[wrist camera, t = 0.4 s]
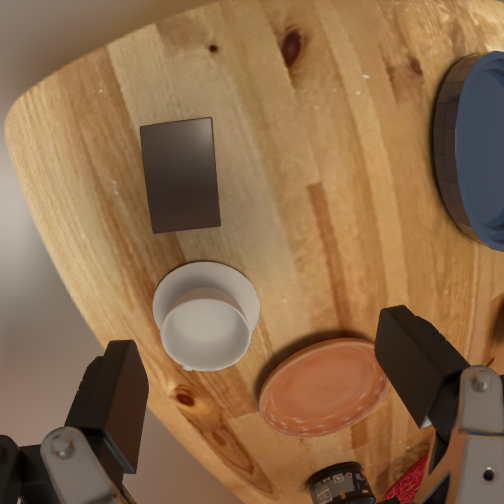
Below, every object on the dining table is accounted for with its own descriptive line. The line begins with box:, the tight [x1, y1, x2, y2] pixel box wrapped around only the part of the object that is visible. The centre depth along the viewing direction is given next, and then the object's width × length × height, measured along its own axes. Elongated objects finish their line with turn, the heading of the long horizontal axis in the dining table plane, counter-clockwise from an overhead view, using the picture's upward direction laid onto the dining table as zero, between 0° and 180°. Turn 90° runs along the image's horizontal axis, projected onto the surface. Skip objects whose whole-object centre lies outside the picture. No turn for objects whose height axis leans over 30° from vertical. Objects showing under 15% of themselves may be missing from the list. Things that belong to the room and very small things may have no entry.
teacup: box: [153, 262, 260, 371], centre depth 27 cm, size 10×10×5 cm
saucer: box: [259, 338, 391, 438], centre depth 33 cm, size 16×16×3 cm
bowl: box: [383, 454, 428, 504], centre depth 48 cm, size 30×30×5 cm
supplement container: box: [308, 463, 376, 504], centre depth 39 cm, size 10×10×12 cm
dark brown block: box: [140, 117, 221, 234], centre depth 21 cm, size 7×4×6 cm, turn 4°
